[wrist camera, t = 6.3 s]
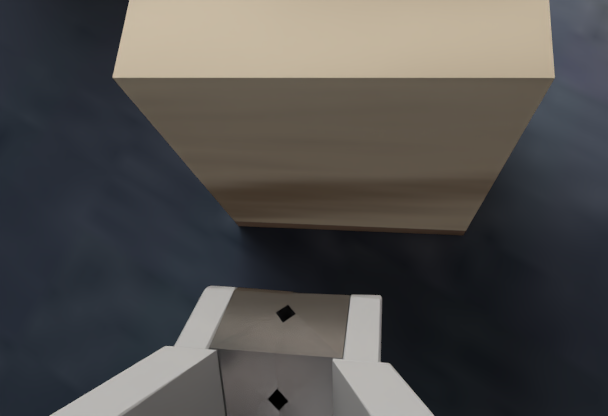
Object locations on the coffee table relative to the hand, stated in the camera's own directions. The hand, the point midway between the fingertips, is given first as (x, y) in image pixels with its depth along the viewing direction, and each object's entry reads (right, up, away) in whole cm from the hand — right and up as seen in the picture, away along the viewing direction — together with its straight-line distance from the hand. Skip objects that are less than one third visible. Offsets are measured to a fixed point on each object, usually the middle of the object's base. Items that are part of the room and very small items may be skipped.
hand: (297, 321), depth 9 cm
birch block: (+2, +4, +11) cm, 12 cm away
